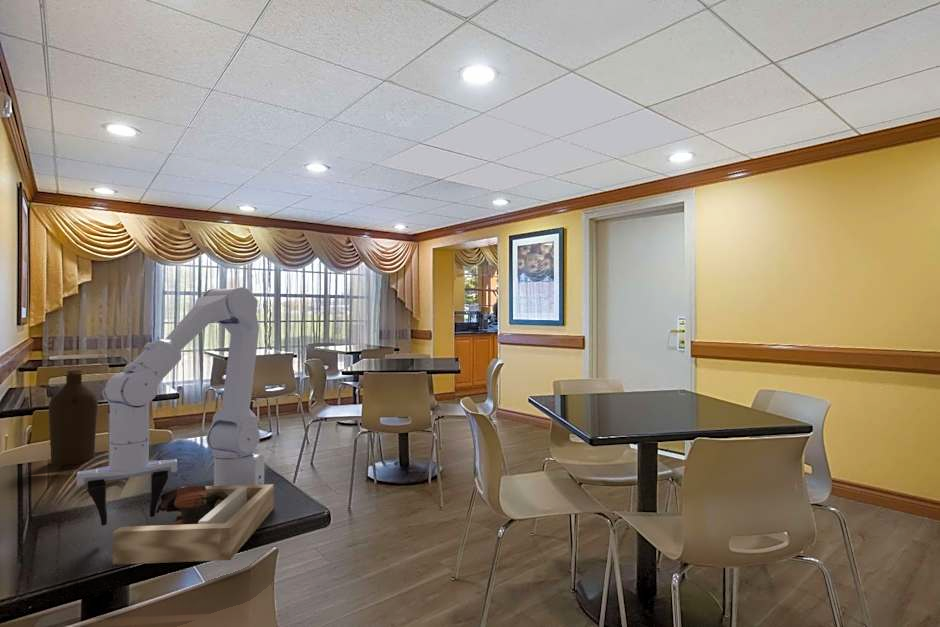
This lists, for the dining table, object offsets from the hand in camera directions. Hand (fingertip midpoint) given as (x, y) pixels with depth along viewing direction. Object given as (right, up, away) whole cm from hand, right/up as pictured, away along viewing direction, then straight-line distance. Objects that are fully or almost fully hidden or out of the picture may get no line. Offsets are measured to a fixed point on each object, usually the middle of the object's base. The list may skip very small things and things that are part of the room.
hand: (128, 519), depth 89 cm
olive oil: (-49, -5, +51) cm, 70 cm away
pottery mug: (+11, -4, +3) cm, 12 cm away
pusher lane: (+13, -3, +1) cm, 13 cm away
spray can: (-29, -4, +42) cm, 51 cm away
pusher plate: (+16, -3, +1) cm, 16 cm away
